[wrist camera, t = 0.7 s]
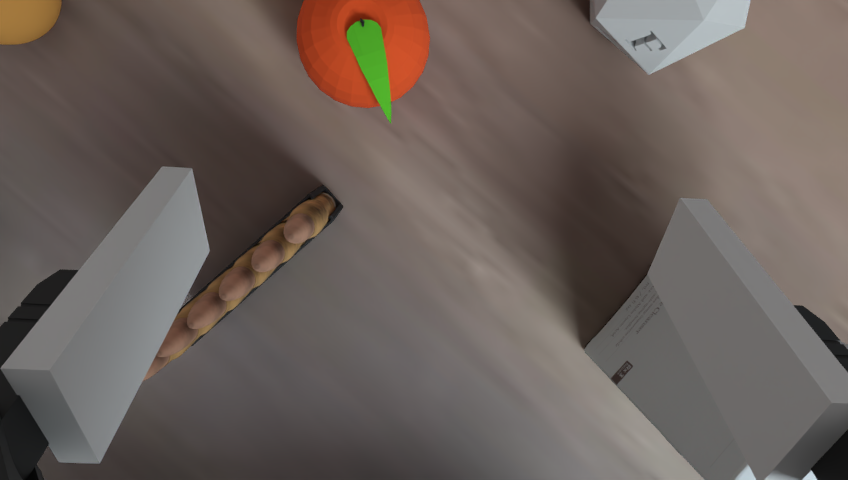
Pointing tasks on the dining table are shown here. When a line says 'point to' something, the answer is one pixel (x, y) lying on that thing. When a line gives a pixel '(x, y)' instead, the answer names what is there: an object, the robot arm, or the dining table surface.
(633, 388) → the skincare box
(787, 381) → the robot arm
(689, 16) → the die
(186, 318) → the ammunition clip
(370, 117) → the dining table surface
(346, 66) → the clementine
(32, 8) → the orange ball
